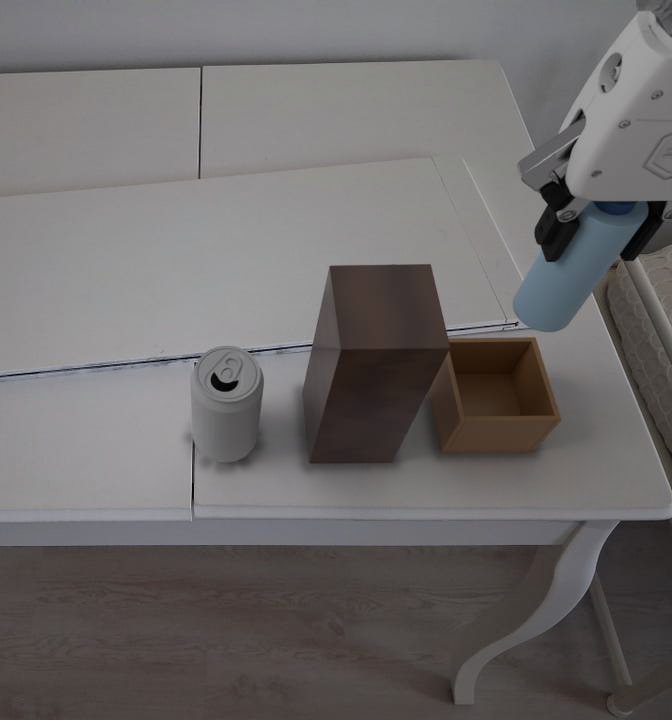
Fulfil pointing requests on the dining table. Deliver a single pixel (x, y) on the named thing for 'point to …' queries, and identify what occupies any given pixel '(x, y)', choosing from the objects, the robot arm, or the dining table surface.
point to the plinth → (371, 361)
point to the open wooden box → (493, 396)
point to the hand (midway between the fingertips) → (584, 244)
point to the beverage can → (226, 403)
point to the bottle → (577, 265)
